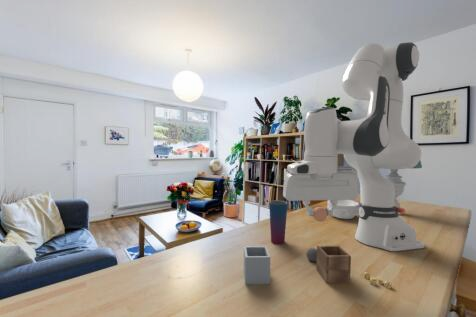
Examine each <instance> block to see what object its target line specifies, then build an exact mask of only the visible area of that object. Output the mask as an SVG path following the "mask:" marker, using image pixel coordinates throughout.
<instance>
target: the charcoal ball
mask: <svg viewBox="0 0 476 317" xmlns="http://www.w3.org/2000/svg"><path fill="white" fill-rule="evenodd" d="M306 258H307V259H308V261H311V262H313V263H314V262H316V263H317V248H315V247H310V248H308V249H307V251H306Z"/></svg>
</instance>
